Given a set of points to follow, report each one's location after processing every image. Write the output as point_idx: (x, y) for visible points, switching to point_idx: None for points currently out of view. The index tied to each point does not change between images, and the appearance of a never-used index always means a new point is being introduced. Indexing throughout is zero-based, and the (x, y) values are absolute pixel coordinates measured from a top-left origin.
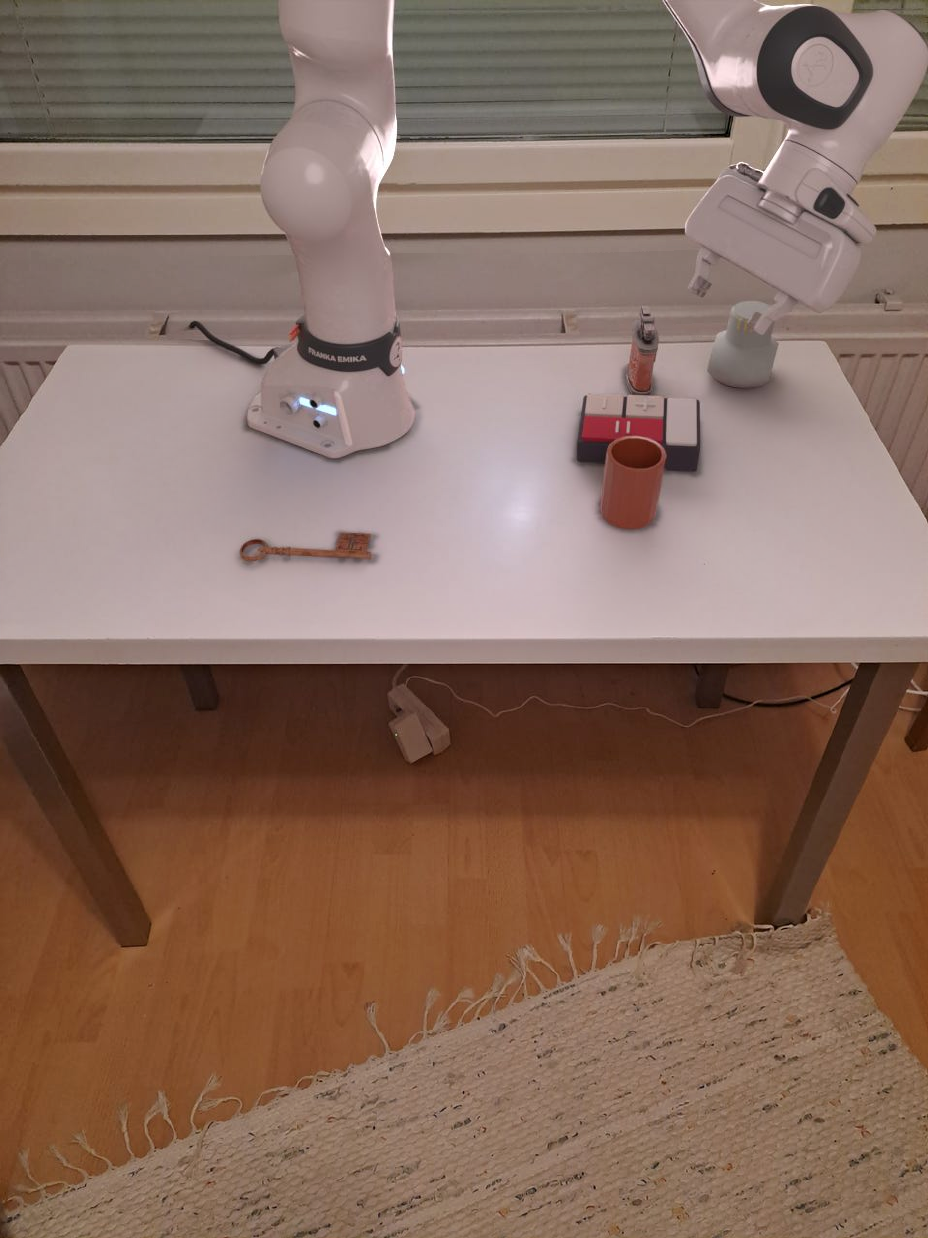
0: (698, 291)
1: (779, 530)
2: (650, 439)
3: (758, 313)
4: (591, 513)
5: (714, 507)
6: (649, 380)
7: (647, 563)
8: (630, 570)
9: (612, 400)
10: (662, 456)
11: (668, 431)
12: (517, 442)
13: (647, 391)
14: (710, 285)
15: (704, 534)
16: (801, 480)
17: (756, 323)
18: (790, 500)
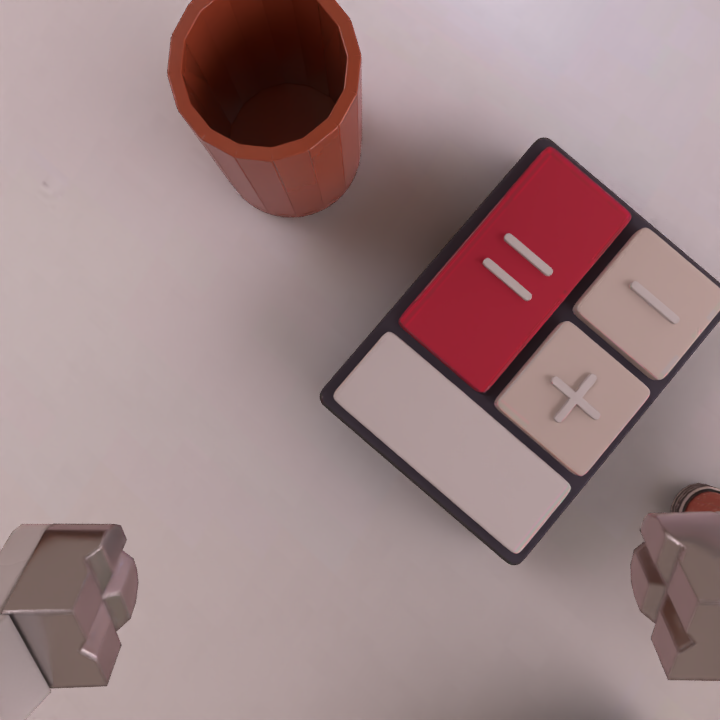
0: (652, 533)
1: (39, 420)
2: (298, 149)
3: (32, 603)
4: None
5: (189, 344)
6: None
7: (117, 72)
8: (119, 23)
9: (652, 333)
10: (205, 124)
11: (428, 370)
12: (682, 73)
13: None
14: (664, 662)
15: (125, 254)
16: (153, 610)
17: (27, 547)
18: None
